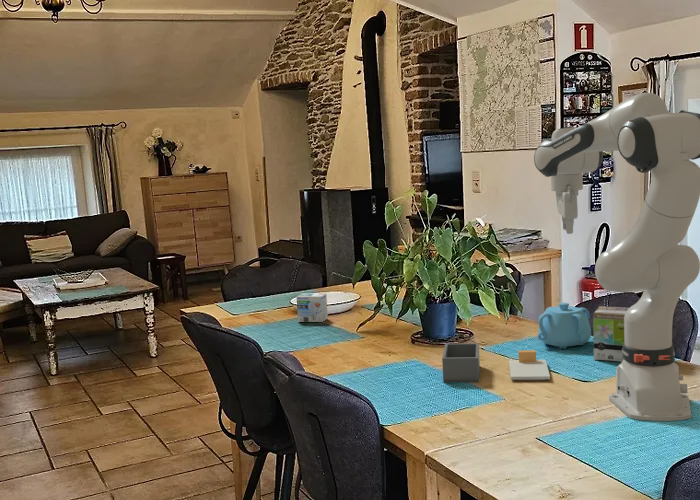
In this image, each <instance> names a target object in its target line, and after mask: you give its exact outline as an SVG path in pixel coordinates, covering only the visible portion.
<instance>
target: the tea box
mask: <svg viewBox="0 0 700 500" xmlns="http://www.w3.org/2000/svg"><path fill="white" fill-rule="evenodd" d="M629 308H630V307H622V306H621V307H620V306H619V307H618V306H600V305H599V306H598V308H597V309H596V310H595V311H594V312H593V329H592V331H593V335H592V336H593V346H592V347H593V361H595V360H596V361H611V362H620V363H622V361H623V353H622V348H623V343H624V316H625V313H626V311H627V310H628V309H629Z"/></svg>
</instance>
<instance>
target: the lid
mask: <svg viewBox="0 0 700 500" xmlns="http://www.w3.org/2000/svg"><path fill="white" fill-rule="evenodd" d="M517 352H518V359H509V361H508V364H509V375H510V380H515V381H546V380H550V379H551V375H550V371H549V368H548V365H547V359H537V351H536V350H535V349H534V350H533V349H531V350H526V349H525V350H524V349H523V350H518V351H517Z"/></svg>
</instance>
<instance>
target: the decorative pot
mask: <svg viewBox="0 0 700 500" xmlns="http://www.w3.org/2000/svg"><path fill="white" fill-rule="evenodd" d="M590 317H591V316H590V311H589V310H588V309H587V308H586V307H576V306H572V305H570V303H568V302H559V303H558V306H548V307H546V309H545V310H544V312H543V313H541V314H540V315H539V317H538V320H537V323H538V330H537V333H538V334H537V339H538V340H540V341H542V343H544V344H546V345H548V344H549V345H550V346H552V347H553V346H554V347H559V348H566V349H567V348H568V347H575V346H576V345H583V346H584V345H585V344H586V343H588V341H590V339H591V337H592V328H591V325H590V321H589V319H590ZM559 348H558V349H559Z"/></svg>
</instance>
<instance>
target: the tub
mask: <svg viewBox="0 0 700 500" xmlns="http://www.w3.org/2000/svg"><path fill="white" fill-rule="evenodd" d="M441 360H442V381H443V383H445V384H446V383H480V374H481V373H480V372H481V371H480V369H481V367H480V366H481V365H480V364H481V363H480V344H479V342H478V343H477V342H476V343H475V342H474V343H467V342H466V343H444V349H443V353H442V359H441Z"/></svg>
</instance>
